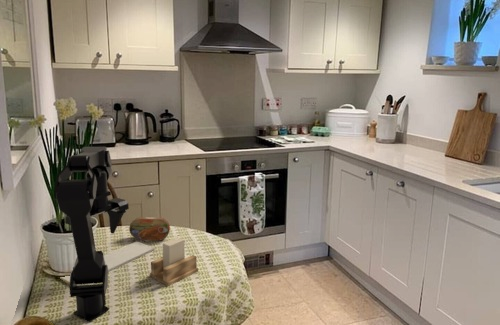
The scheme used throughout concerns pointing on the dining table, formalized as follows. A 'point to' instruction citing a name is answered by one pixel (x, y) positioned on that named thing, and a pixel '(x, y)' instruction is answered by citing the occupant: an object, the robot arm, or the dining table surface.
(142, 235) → the tin
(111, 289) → the dining table surface
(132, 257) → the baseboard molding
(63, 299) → the dining table surface
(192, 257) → the wooden slotted stand
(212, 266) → the dining table surface
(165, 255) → the off-white rectangular block
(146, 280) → the dining table surface
